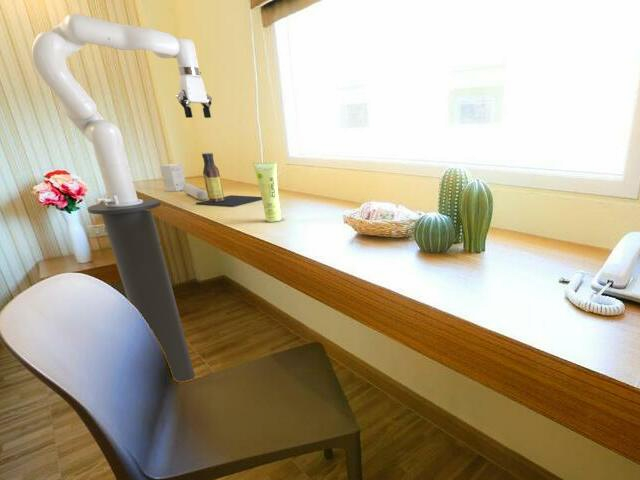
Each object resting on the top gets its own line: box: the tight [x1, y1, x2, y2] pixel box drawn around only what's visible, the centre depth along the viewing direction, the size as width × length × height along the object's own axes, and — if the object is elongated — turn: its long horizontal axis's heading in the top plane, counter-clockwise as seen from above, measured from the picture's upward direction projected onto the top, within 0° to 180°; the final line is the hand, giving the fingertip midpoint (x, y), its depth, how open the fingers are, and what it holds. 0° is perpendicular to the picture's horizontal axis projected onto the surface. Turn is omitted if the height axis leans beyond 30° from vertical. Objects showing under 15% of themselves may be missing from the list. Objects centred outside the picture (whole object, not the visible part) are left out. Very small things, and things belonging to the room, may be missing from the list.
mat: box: [195, 194, 262, 208], centre depth 171 cm, size 20×20×1 cm
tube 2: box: [252, 160, 282, 223], centre depth 131 cm, size 6×5×20 cm
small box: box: [159, 163, 187, 193], centre depth 203 cm, size 8×6×13 cm
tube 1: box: [182, 183, 208, 201], centre depth 182 cm, size 5×5×25 cm
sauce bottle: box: [201, 152, 225, 202], centre depth 165 cm, size 7×6×20 cm
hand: (198, 117), depth 169 cm, fingers open, 9 cm apart
